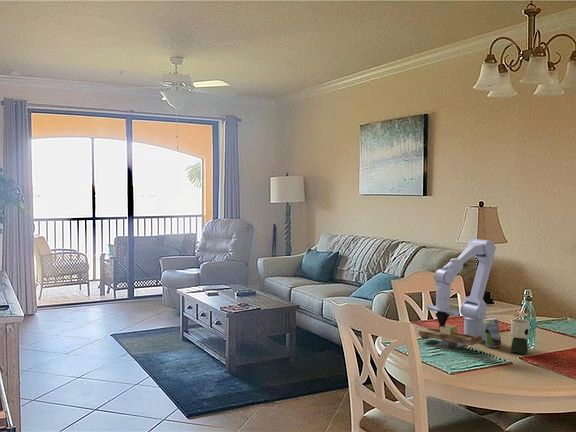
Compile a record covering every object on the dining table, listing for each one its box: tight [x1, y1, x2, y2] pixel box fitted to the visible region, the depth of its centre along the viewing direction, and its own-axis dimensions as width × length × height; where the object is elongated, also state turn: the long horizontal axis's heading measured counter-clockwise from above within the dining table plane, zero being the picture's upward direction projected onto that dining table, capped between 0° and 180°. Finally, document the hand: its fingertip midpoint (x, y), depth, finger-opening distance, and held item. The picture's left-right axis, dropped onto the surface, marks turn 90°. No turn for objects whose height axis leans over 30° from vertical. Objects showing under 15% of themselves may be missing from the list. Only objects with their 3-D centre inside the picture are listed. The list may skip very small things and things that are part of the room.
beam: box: [418, 327, 484, 346], centre depth 235 cm, size 25×9×4 cm, turn 42°
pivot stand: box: [432, 340, 467, 352], centre depth 235 cm, size 8×13×3 cm, turn 132°
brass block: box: [439, 323, 458, 337], centre depth 235 cm, size 5×5×4 cm
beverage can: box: [483, 317, 502, 348], centre depth 235 cm, size 6×7×12 cm
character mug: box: [510, 318, 531, 355], centre depth 226 cm, size 11×7×13 cm, turn 147°
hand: (442, 329), depth 237 cm, fingers closed, pressing on brass block
